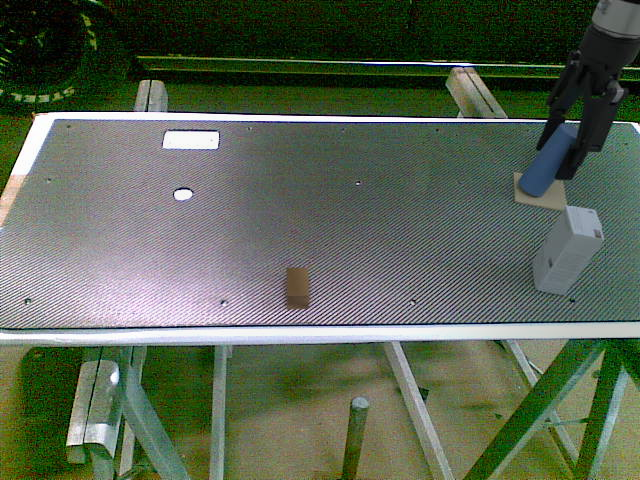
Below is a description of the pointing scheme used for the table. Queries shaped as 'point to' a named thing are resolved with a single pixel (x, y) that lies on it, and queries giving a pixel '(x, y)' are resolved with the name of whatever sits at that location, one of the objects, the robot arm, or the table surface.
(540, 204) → the mat
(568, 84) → the robot arm
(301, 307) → the brown rectangular block
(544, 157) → the tube
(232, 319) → the table surface
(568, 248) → the cosmetic box
